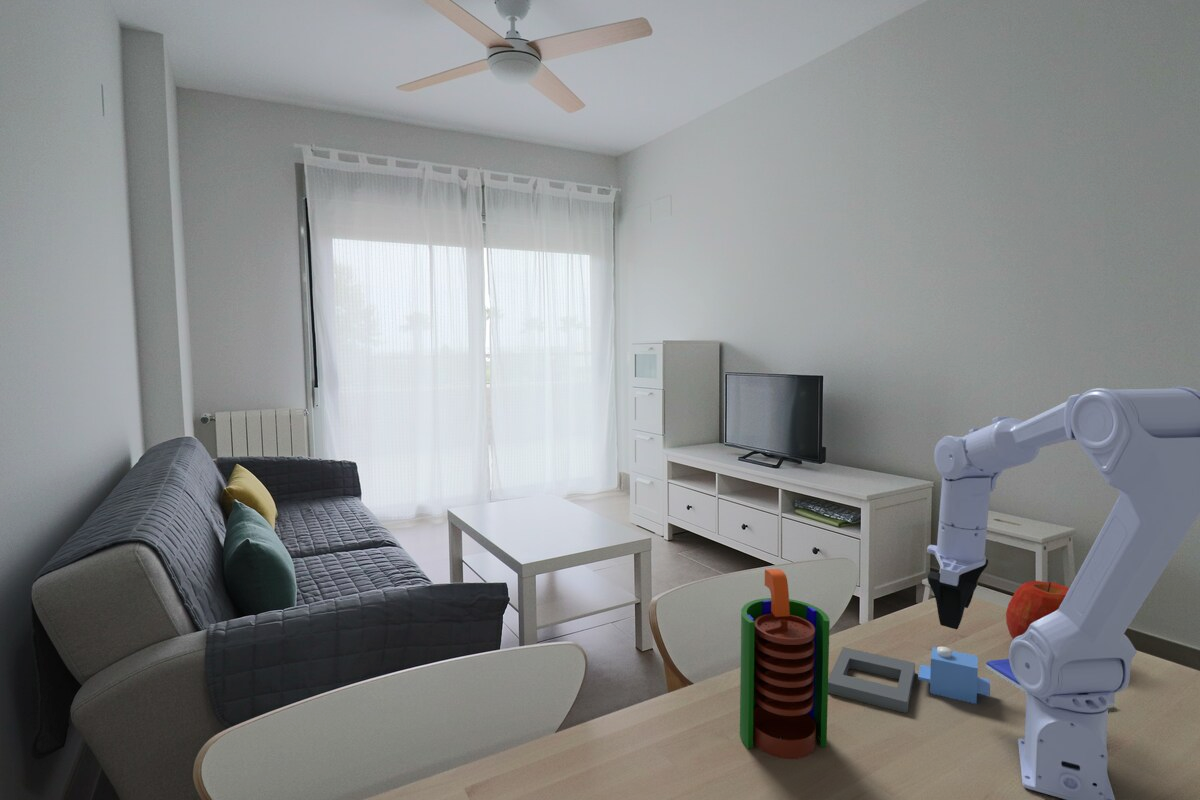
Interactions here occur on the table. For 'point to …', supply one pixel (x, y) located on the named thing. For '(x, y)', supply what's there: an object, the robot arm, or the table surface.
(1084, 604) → the robot arm
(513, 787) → the table surface
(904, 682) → the grey flat frame
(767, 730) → the motor
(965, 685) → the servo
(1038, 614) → the apple
